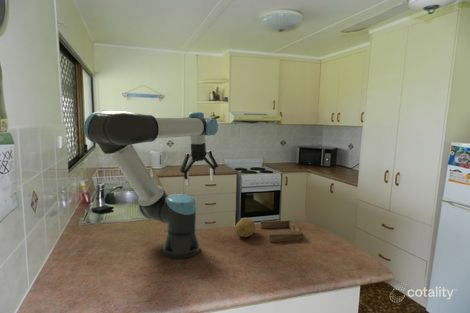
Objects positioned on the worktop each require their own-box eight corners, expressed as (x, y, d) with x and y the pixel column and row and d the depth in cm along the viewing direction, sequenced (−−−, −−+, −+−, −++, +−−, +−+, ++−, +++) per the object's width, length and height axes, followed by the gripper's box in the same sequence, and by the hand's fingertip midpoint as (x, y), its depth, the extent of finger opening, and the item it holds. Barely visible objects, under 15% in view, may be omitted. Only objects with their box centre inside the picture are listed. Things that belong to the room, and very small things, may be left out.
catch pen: (302, 240, 133) (303, 233, 133) (269, 242, 130) (270, 235, 130) (289, 226, 151) (289, 220, 150) (260, 227, 148) (260, 221, 148)
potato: (256, 230, 144) (256, 215, 143) (253, 242, 130) (253, 225, 129) (237, 229, 145) (237, 214, 144) (232, 240, 132) (232, 223, 131)
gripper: (217, 139, 153) (218, 177, 157) (171, 144, 141) (174, 184, 146) (223, 141, 146) (224, 180, 151) (176, 146, 135) (179, 188, 139)
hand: (200, 182), depth 148 cm, fingers open, 13 cm apart
